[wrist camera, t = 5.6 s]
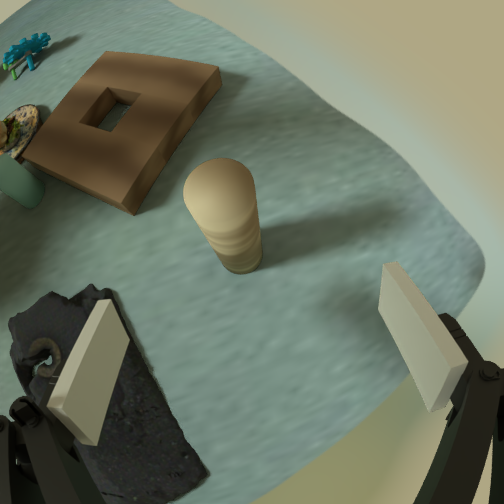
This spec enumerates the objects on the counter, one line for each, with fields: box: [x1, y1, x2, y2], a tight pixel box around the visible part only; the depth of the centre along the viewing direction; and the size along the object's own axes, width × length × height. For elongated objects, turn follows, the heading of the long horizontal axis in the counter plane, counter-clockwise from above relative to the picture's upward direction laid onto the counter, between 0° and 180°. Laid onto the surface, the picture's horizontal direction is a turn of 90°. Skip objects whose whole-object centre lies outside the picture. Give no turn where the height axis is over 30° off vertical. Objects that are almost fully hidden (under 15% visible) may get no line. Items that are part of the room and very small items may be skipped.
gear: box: [3, 33, 51, 80], centre depth 37 cm, size 11×6×10 cm
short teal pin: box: [0, 153, 45, 209], centre depth 27 cm, size 4×4×7 cm
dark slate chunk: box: [8, 284, 207, 504], centre depth 22 cm, size 15×22×5 cm
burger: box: [0, 104, 43, 164], centre depth 31 cm, size 12×12×8 cm
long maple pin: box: [183, 158, 263, 274], centre depth 21 cm, size 4×4×12 cm
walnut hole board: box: [22, 51, 222, 216], centre depth 31 cm, size 18×18×3 cm
